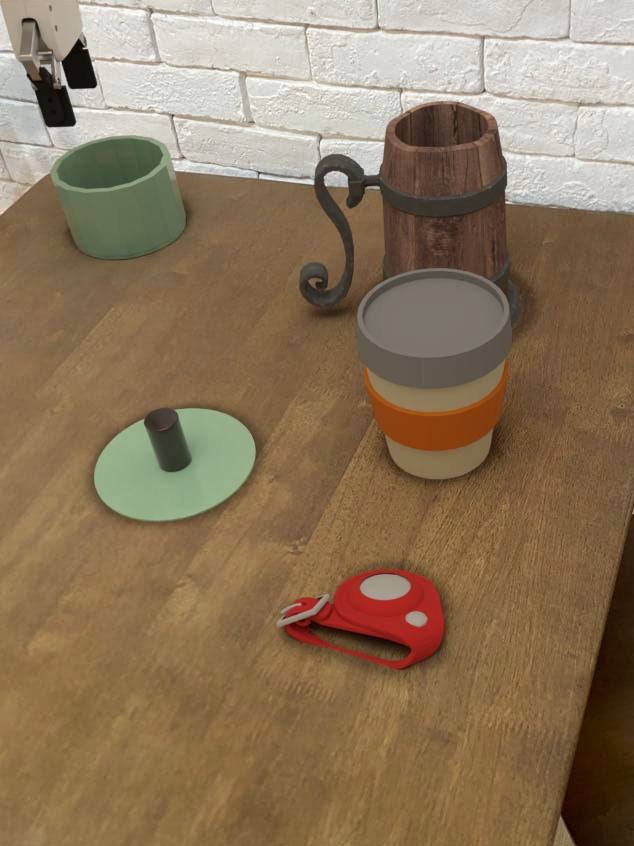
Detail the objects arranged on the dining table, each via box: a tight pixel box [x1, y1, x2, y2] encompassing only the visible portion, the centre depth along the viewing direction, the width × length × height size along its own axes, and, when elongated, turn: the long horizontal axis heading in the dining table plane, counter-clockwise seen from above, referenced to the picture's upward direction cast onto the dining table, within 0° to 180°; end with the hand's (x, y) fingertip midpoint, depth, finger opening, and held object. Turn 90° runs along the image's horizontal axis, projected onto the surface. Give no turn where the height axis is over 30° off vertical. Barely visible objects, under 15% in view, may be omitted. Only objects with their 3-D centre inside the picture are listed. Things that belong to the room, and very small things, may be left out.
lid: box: [93, 407, 257, 523], centre depth 83 cm, size 15×15×6 cm
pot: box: [49, 134, 187, 261], centre depth 111 cm, size 14×14×8 cm
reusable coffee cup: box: [356, 268, 513, 480], centre depth 79 cm, size 13×13×15 cm
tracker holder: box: [275, 569, 445, 670], centre depth 70 cm, size 12×4×10 cm
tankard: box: [298, 100, 522, 329], centre depth 91 cm, size 24×17×20 cm
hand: (73, 106), depth 102 cm, fingers open, 9 cm apart
